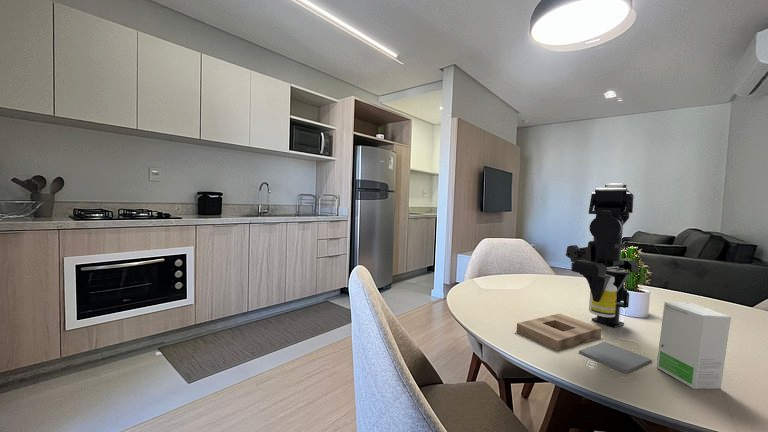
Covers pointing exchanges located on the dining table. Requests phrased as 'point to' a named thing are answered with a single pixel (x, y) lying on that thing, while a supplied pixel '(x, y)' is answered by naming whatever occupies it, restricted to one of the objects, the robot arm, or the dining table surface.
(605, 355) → the rubber mat
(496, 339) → the dining table surface
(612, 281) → the supplement bottle
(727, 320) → the skincare box
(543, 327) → the wooden block with hole
